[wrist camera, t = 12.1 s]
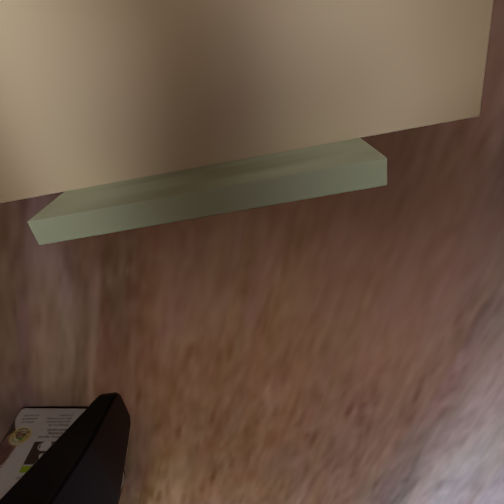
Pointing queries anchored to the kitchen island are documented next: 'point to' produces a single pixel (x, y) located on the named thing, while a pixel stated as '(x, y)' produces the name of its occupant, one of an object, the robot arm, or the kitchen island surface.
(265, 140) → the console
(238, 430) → the kitchen island surface
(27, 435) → the coffee box
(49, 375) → the kitchen island surface
